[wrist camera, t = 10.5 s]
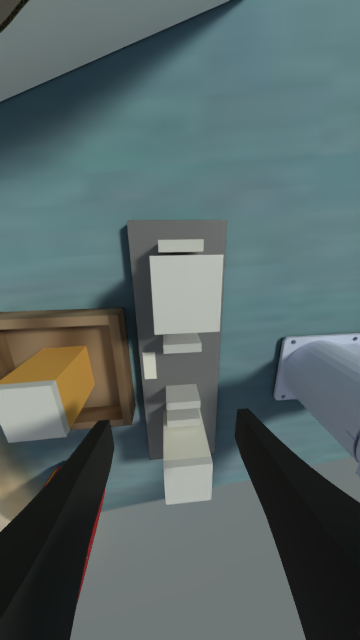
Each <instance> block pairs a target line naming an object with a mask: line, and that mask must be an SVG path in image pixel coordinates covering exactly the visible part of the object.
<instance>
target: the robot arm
mask: <svg viewBox="0 0 360 640" xmlns="http://www.w3.org/2000/svg"><path fill="white" fill-rule="evenodd" d="M292 340H293V342H292V343H291V341H292ZM282 395H283V396H282ZM273 396H274V398H275V399H276V400H290V399H298V400H299V402H300V403H301V404H302V405H303V406H304V407H305V408H306V409H307V410H308V411H309V412H310V413H311V414H312V415H313V416H314V417H315V418H316V419H317V420H318V421H319V422H320V423H321V425H322V426H323V427H324V428H325V429H326V430H327V431H328V432H329V433H330V434H331V435H332V436H333V437H334V438H335V439H336V440H337V441H338V442H339V443H340V444H341V445H342V447H343V448H344V449H345V450H346V451H347V452H348V453H349V454H350V455H351V456H352V457H353V458H354V459H355V460H356V461H357V462H358V463H359V466H358V469H357V471H356V474H357V475H358V476H359V477H360V333H351V334H332V335H313V336H294V337H285V338H284V339H283V341H282V347H281V353H280V359H279V365H278V371H277V377H276V383H275V389H274V395H273ZM235 438H236V442H237V445H238V448H239V451H240V455H241V457H242V460H243V462H244V465H245V467H246V469H247V472H248V474H249V476H250V479H251V481H252V484H253V486H254V488H255V491H256V493H257V495H258V498H259V500H260V502H261V505H262V507H263V510H264V512H265V515H266V517H267V519H268V523H269V526H270V528H271V532H272V534H273V537H274V540H275V543H276V546H277V549H278V552H279V555H280V558H281V561H282V564H283V567H284V570H285V573H286V576H287V579H288V582H289V585H290V589H291V592H292V595H293V599H294V602H295V605H296V608H297V611H298V614H299V618H300V620H301V624H302V628H303V631H304V634H305V638H306V640H360V503H359V502H358V501H356V500H355V499H353V498H352V497H350V496H349V495H347V494H346V493H345V492H343V491H342V490H340V489H339V488H338V487H336V486H335V485H334V484H332V483H331V482H329V481H328V480H327V479H325V478H324V477H323V476H322V475H320V474H319V473H318V472H317V471H315V470H314V469H313V468H311V467H310V466H309V465H308V464H306V463H305V462H304V461H303V460H302V459H300V458H299V457H298V456H297V455H296V454H295V453H294V452H292V451H291V450H290V449H289V448H288V447H287V446H286V445H285V444H284V443H282V442H281V441H280V440H279V439H278V438H277V437H276V436H275V435H274V434H273V433H272V432H271V431H270V430H269V429H268V428H267V427H266V426H265V425H264V424H263V423H262V422H261V421H260V420H259V419H258V418H257V417H256V416H255V415H254V414H253V413H252V412H251V411H250V410H249V409H237V419H236V430H235ZM113 452H114V442H113V436H112V431H111V425H110V420H99V421H97V422H96V424H95V425H94V426H93V428H92V429H91V430H90V432H89V433H88V434H87V436H86V437H85V438H84V440H83V441H82V442H81V444H80V445H79V446H78V447H77V449H76V450H75V451H74V452H73V454H72V455H71V456H70V457H69V459H68V460H67V461H66V462H65V464H64V465H63V466H62V467H61V468H60V469H59V471H58V472H57V473H56V474H55V475H54V476H53V478H52V479H51V480H50V481H49V482H48V483H47V484H46V486H45V487H44V488H43V489H42V490H41V491H40V492H39V493H38V494H37V495H36V497H35V498H34V499H33V500H32V501H31V502H30V503H29V504H28V505H27V506H26V507H25V508H24V509H23V510H22V511H21V512H20V513H19V514H18V515H17V516H16V517H15V518H14V519H13V520H12V521H11V522H10V523H9V524H8V525H7V526H6V527H5V528H4V529H3V530H2V531H1V532H0V640H70V636H71V631H72V626H73V620H74V615H75V610H76V605H77V600H78V596H79V591H80V586H81V581H82V576H83V571H84V567H85V562H86V558H87V553H88V548H89V544H90V539H91V536H92V532H93V528H94V524H95V521H96V517H97V514H98V511H99V507H100V504H101V500H102V497H103V493H104V490H105V486H106V483H107V479H108V476H109V472H110V468H111V463H112V458H113Z"/></svg>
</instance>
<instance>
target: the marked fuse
mask: <svg viewBox="0 0 360 640" xmlns="http://www.w3.org/2000/svg"><path fill="white" fill-rule="evenodd" d="M94 385H95V384H94V379H93V374H92V370H91V365H90V361H89V356H88V351H87V347H86V346H74V347H60V348H46V349H42V350H40V351H39V352H38V353H36V354H35V355H34V356H32V357H31V358H30V359H28V360H27V361H26V362H24V363H23V364H22V365H20V366H19V367H18V368H16V369H15V370H13V371H12V372H11V373H9V374H8V375H7V376H5V377H4V378H3V379H1V380H0V425H1V427H2V429H3V431H4V434H5V436H6V438H7V441H8V443H13V442H23V441H33V440H42V439H52V438H62V437H67V435H68V433H69V431H70V429H71V427H72V426H73V424H74V422H75V420H76V418H77V416H78V415H79V413H80V411H81V409H82V407H83V406H84V404H85V402H86V400H87V398H88V396H89V395H90V393H91V391H92V389H93V387H94Z"/></svg>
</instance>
